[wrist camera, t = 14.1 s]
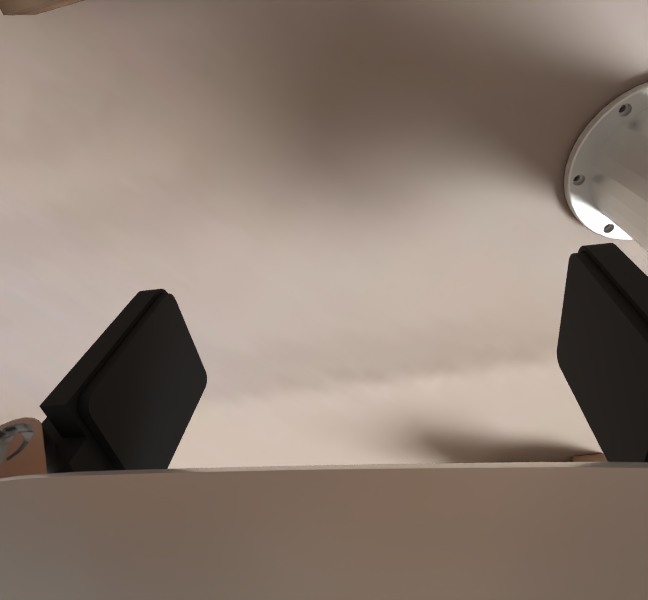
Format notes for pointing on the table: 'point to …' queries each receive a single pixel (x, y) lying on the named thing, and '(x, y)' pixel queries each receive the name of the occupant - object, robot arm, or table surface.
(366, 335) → the table surface
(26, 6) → the display tray
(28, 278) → the table surface
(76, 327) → the table surface
